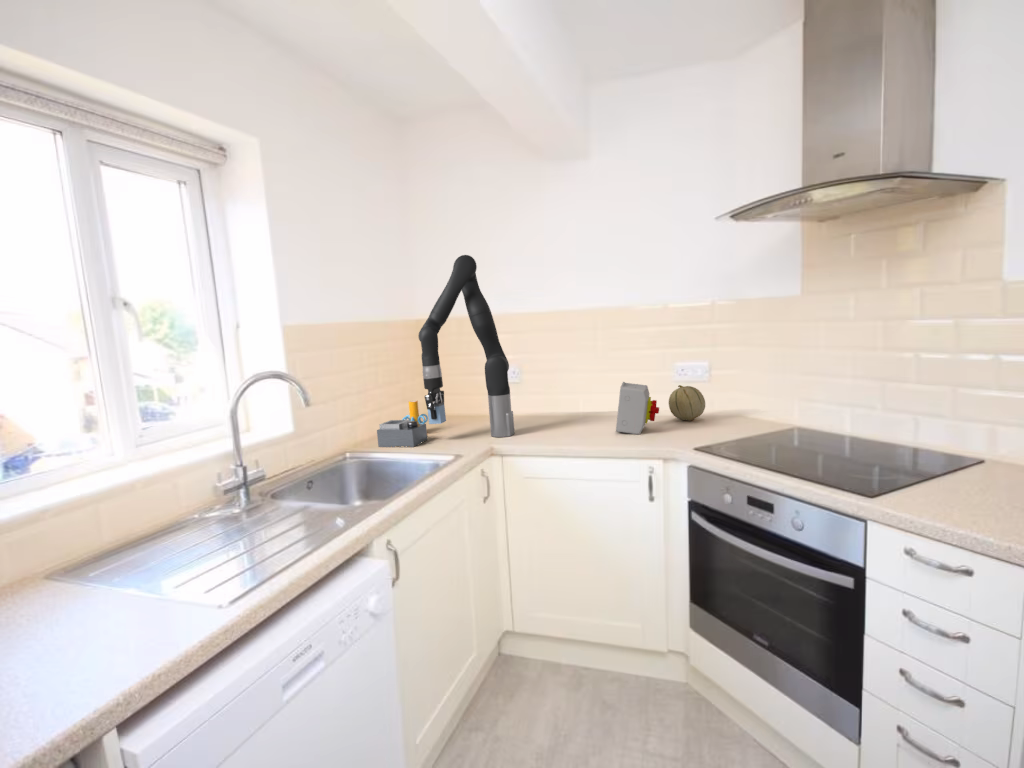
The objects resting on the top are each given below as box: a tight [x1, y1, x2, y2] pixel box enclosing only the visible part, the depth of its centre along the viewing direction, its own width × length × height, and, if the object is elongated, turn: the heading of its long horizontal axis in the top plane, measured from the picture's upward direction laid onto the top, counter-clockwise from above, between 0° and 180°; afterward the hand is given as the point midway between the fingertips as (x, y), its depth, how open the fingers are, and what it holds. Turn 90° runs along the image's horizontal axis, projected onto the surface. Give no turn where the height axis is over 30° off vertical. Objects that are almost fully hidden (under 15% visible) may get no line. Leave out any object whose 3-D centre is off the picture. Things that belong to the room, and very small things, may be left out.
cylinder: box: [401, 400, 429, 424], centre depth 228 cm, size 12×10×15 cm
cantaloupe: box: [668, 385, 706, 422], centre depth 217 cm, size 15×15×15 cm
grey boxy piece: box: [376, 419, 428, 448], centre depth 211 cm, size 16×12×9 cm
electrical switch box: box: [615, 381, 660, 435], centre depth 203 cm, size 15×15×20 cm
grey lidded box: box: [427, 401, 447, 425], centre depth 209 cm, size 5×5×8 cm
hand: (437, 417), depth 210 cm, fingers closed on grey lidded box, 5 cm apart
